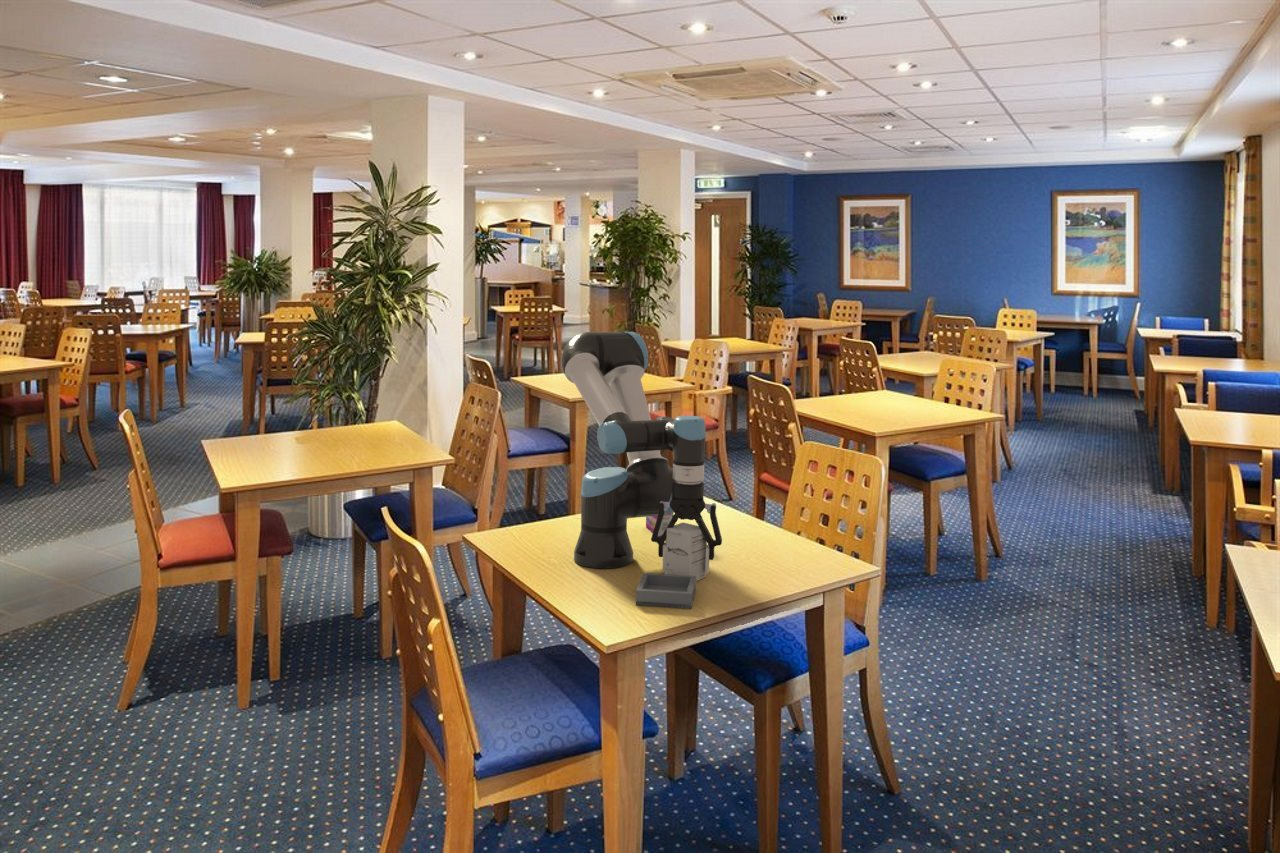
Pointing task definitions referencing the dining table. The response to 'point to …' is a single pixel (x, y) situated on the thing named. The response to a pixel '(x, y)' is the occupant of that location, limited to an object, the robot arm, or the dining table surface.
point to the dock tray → (666, 590)
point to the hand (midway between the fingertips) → (685, 571)
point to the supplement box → (685, 551)
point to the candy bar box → (666, 520)
